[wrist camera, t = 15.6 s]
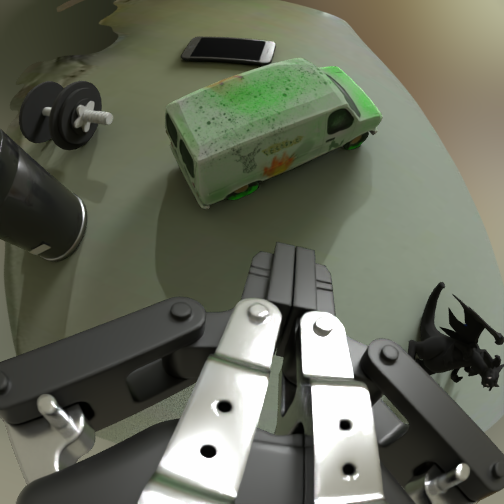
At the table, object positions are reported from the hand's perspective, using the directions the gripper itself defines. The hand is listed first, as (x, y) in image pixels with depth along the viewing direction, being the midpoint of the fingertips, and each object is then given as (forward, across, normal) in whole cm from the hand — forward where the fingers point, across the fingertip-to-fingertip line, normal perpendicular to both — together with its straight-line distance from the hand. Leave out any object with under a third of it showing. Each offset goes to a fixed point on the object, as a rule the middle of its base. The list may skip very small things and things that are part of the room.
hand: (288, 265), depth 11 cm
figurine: (+12, -23, +15) cm, 30 cm away
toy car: (+27, +2, 0) cm, 28 cm away
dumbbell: (+26, +34, +1) cm, 43 cm away
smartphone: (+40, +14, -13) cm, 44 cm away
